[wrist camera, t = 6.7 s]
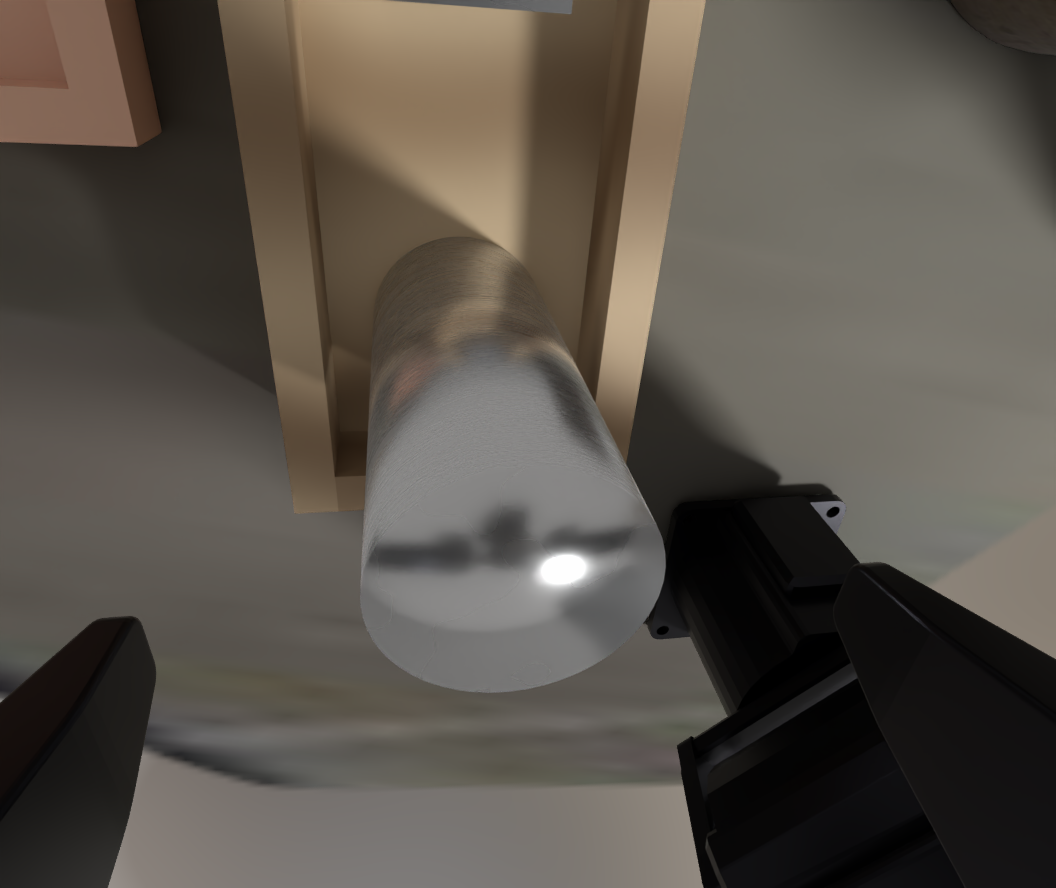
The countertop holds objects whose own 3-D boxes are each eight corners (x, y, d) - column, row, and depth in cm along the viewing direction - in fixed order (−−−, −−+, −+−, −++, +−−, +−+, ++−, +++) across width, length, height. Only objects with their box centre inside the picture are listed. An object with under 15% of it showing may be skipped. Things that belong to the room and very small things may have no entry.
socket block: (580, 409, 21) (620, 496, 18) (312, 416, 20) (294, 513, 16) (671, -342, 13) (789, -484, 9) (210, -423, 11) (122, -629, 8)
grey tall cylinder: (536, 392, 18) (641, 678, 10) (378, 396, 17) (370, 705, 10) (547, 237, 16) (691, 459, 8) (367, 235, 15) (347, 475, 7)
